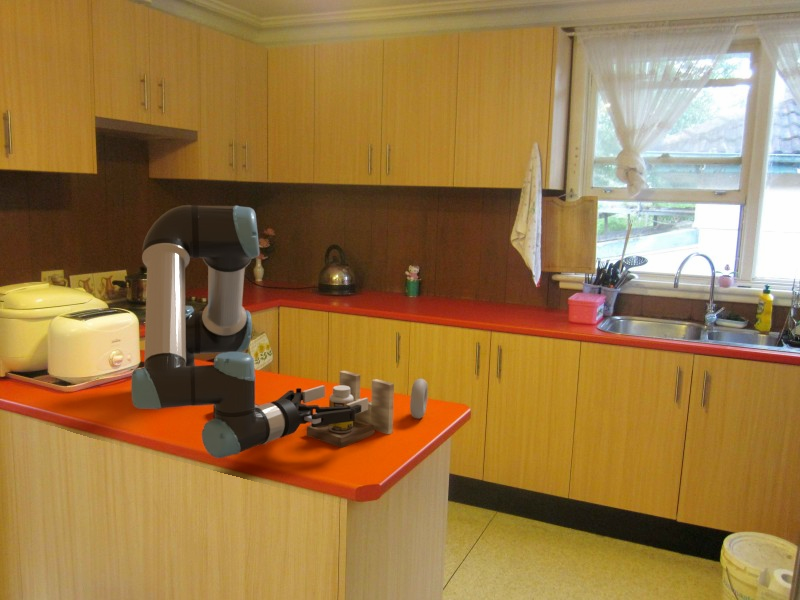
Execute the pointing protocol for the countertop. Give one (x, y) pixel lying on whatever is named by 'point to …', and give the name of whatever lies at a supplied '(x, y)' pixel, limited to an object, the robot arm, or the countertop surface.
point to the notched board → (373, 401)
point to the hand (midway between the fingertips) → (344, 397)
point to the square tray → (341, 440)
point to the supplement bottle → (341, 398)
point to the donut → (419, 398)
